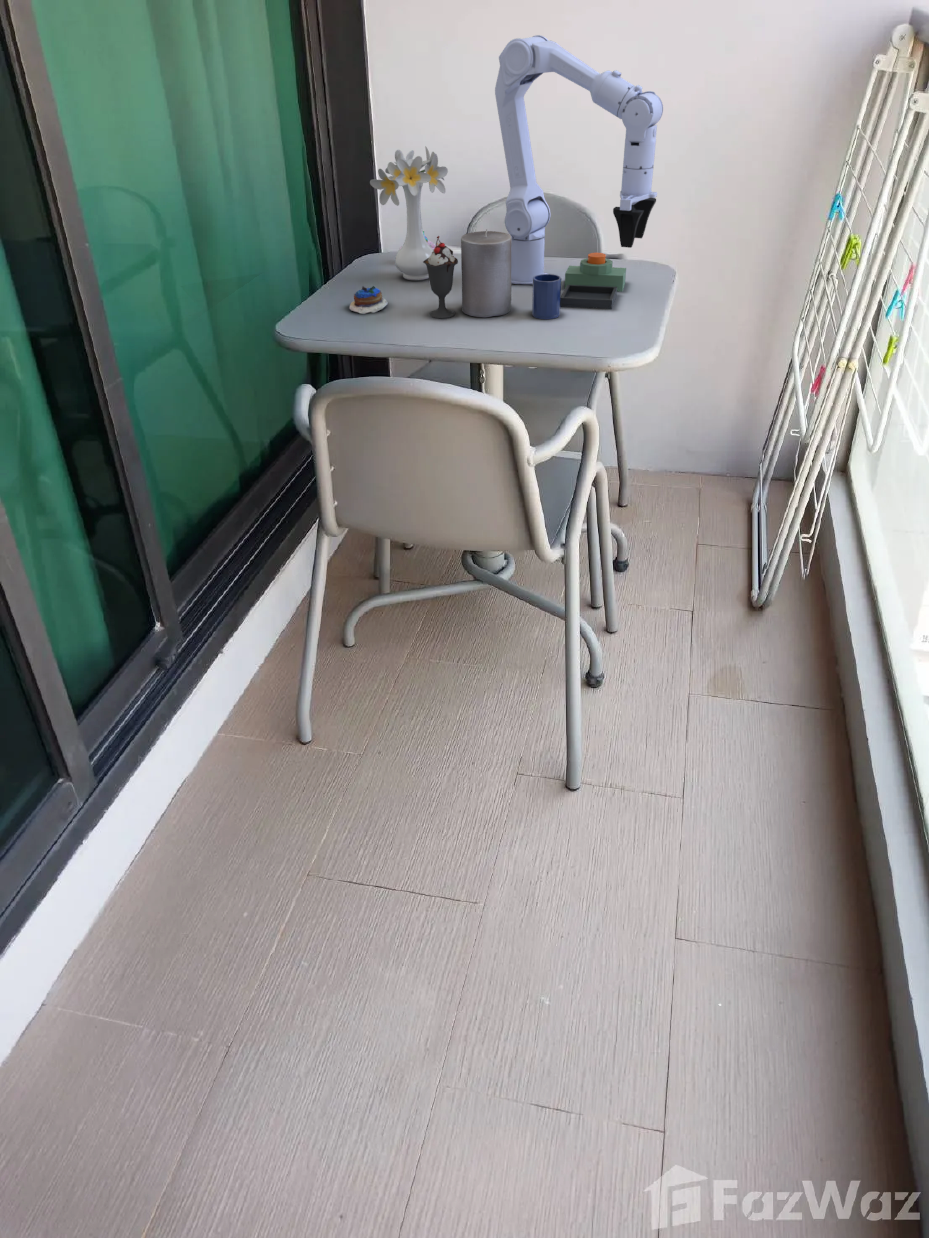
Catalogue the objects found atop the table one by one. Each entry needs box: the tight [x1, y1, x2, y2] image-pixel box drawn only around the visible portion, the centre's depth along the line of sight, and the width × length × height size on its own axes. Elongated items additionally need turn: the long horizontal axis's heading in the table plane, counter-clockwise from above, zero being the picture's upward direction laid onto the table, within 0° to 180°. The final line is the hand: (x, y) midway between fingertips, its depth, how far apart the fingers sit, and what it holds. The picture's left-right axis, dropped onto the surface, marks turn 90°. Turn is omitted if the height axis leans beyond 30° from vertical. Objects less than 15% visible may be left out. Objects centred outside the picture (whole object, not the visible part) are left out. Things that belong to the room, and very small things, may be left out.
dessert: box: [348, 285, 388, 315], centre depth 180 cm, size 8×7×6 cm
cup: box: [531, 273, 562, 320], centre depth 172 cm, size 5×5×7 cm
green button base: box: [564, 257, 627, 293], centre depth 188 cm, size 12×6×5 cm, turn 76°
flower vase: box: [369, 145, 449, 281], centre depth 190 cm, size 13×18×25 cm
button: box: [587, 252, 607, 264], centre depth 186 cm, size 4×4×2 cm
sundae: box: [423, 235, 459, 319], centre depth 172 cm, size 7×7×15 cm
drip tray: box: [560, 285, 618, 310], centre depth 180 cm, size 10×9×2 cm
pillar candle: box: [460, 229, 512, 318], centre depth 173 cm, size 10×10×15 cm
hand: (631, 242), depth 179 cm, fingers open, 7 cm apart
